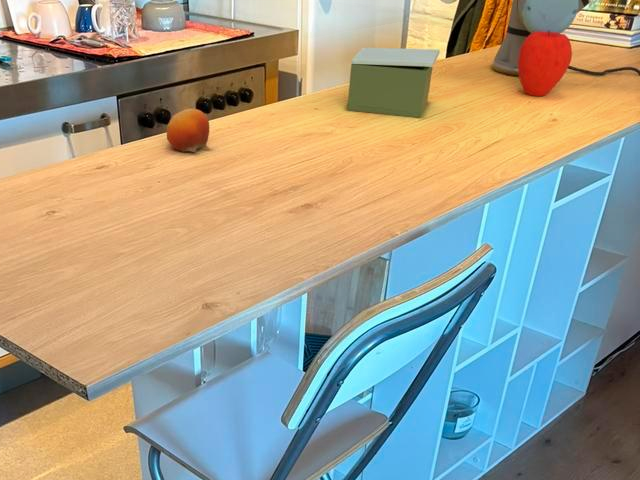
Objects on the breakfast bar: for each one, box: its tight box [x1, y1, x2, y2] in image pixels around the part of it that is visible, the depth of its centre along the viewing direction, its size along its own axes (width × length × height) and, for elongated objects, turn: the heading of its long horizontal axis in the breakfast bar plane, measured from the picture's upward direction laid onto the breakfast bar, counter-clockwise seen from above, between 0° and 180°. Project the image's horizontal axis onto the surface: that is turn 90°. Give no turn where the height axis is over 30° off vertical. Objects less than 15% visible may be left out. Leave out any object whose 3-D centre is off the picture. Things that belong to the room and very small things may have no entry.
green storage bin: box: [346, 63, 434, 119], centre depth 178 cm, size 16×14×9 cm
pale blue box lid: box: [351, 46, 441, 67], centre depth 175 cm, size 17×14×1 cm
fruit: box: [166, 108, 210, 153], centre depth 151 cm, size 8×8×8 cm
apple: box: [518, 30, 573, 97], centre depth 189 cm, size 12×12×13 cm
